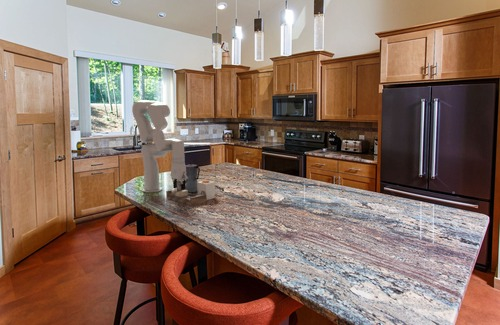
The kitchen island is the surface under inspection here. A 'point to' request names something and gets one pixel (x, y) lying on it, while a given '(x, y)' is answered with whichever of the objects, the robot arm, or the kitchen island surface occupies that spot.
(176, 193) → the square knob plate
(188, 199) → the rail bed
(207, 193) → the white knob block
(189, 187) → the moka pot
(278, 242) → the kitchen island surface
